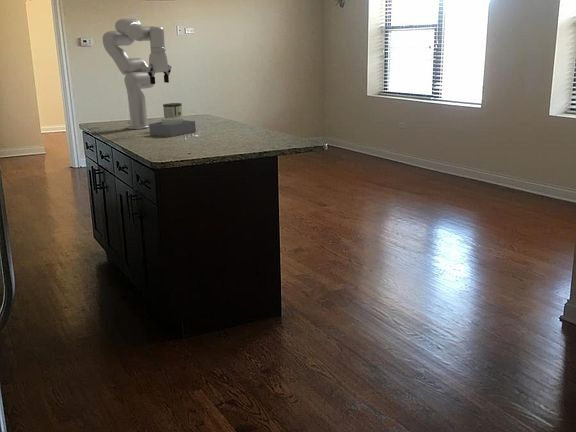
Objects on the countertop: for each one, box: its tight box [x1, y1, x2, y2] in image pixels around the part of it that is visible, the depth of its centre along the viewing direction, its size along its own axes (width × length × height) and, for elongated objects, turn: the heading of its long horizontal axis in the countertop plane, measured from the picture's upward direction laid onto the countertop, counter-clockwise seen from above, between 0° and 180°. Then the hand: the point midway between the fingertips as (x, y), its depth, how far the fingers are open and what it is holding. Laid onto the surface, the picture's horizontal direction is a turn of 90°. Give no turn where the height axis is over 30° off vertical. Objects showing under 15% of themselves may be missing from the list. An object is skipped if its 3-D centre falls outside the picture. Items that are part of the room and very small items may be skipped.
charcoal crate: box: [148, 119, 197, 137], centre depth 338 cm, size 16×18×6 cm
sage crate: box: [160, 117, 184, 125], centre depth 338 cm, size 9×7×7 cm
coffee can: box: [162, 102, 183, 119], centre depth 356 cm, size 10×10×14 cm
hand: (159, 83), depth 345 cm, fingers open, 9 cm apart
